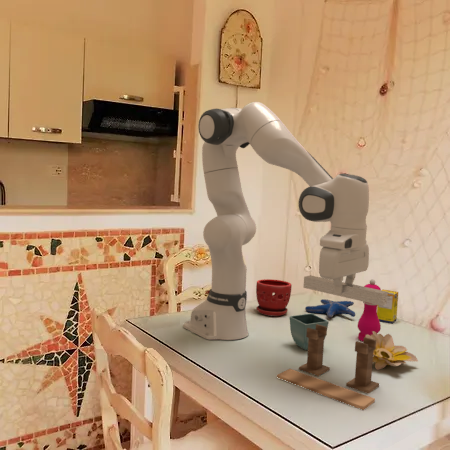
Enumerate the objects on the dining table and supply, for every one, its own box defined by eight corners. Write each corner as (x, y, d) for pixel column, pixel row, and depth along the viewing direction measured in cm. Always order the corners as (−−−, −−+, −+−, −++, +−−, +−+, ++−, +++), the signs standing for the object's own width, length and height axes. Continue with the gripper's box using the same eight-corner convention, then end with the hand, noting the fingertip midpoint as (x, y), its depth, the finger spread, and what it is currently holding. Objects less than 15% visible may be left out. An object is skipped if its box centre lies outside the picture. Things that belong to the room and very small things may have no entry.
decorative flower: (389, 374, 128) (386, 335, 130) (355, 369, 137) (353, 333, 139) (424, 368, 137) (421, 331, 138) (389, 363, 146) (387, 329, 147)
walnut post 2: (346, 386, 124) (349, 340, 123) (357, 379, 129) (360, 335, 128) (368, 393, 121) (372, 347, 119) (378, 386, 125) (382, 341, 124)
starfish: (304, 305, 200) (305, 293, 199) (351, 309, 197) (352, 297, 197) (305, 319, 181) (306, 305, 181) (357, 323, 179) (358, 310, 178)
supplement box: (396, 320, 185) (398, 291, 183) (392, 324, 179) (394, 294, 178) (380, 317, 188) (382, 288, 186) (376, 320, 183) (378, 291, 181)
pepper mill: (380, 344, 157) (385, 282, 154) (357, 342, 158) (361, 280, 156) (378, 337, 164) (383, 278, 161) (355, 335, 165) (360, 276, 163)
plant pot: (291, 318, 180) (293, 286, 179) (255, 317, 181) (257, 285, 179) (287, 308, 193) (289, 278, 192) (254, 307, 194) (255, 277, 192)
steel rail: (303, 287, 133) (304, 276, 133) (309, 286, 135) (310, 275, 135) (381, 305, 119) (382, 293, 118) (386, 303, 121) (387, 291, 121)
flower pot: (304, 353, 146) (305, 324, 145) (287, 344, 153) (288, 315, 152) (327, 350, 150) (329, 321, 149) (309, 340, 158) (311, 313, 157)
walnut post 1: (298, 369, 134) (301, 327, 132) (310, 363, 138) (313, 322, 137) (318, 376, 130) (321, 332, 128) (329, 370, 134) (332, 327, 133)
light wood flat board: (276, 377, 128) (276, 374, 127) (289, 371, 132) (289, 368, 132) (363, 410, 112) (363, 406, 112) (374, 401, 116) (375, 398, 116)
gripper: (355, 234, 135) (350, 283, 137) (316, 239, 120) (311, 295, 121) (377, 237, 131) (372, 288, 133) (339, 243, 116) (334, 300, 117)
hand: (343, 291), depth 127 cm, fingers closed on steel rail, 3 cm apart
